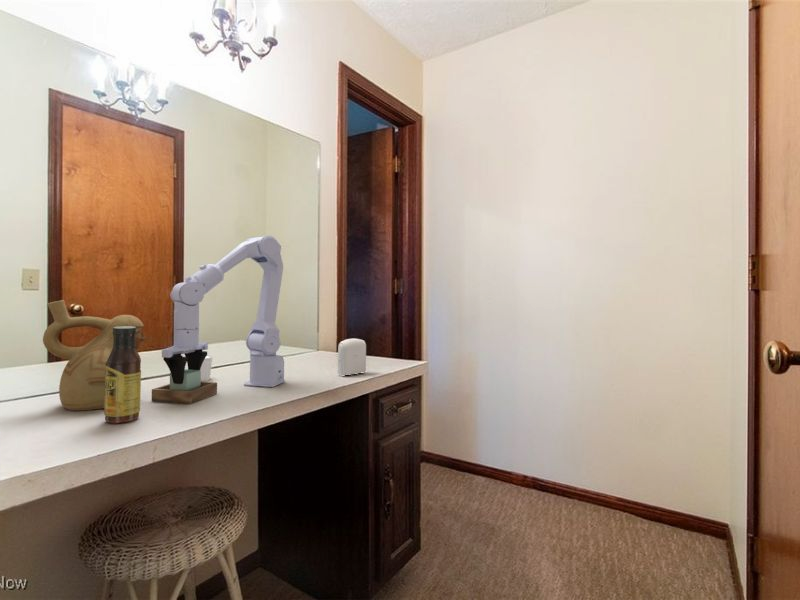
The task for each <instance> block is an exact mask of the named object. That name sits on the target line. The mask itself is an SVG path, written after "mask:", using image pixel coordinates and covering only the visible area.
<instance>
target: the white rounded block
mask: <svg viewBox="0 0 800 600" xmlns="http://www.w3.org/2000/svg"><path fill="white" fill-rule="evenodd" d="M212 362H213V356H210V355H207V356H206V357H205V359H204V361H203V363H202V366H201V369H200V370H201V381H202V382H208V381H209V380H211V374H212V373H211V372H212V365H213V363H212Z"/></svg>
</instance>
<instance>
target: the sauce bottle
mask: <svg viewBox="0 0 800 600" xmlns="http://www.w3.org/2000/svg"><path fill="white" fill-rule="evenodd" d="M135 334H136V327H133V326H118V327H114V328H113V335H114V344H113V349H112V351H111V353H110V356H109V358H108V360H107V363H106V365H105V405H104V408H103V410H104V411H103V412H104V420H105V422H106V423H109V424H113V425H115V424H124V423H129V422H133V421H135V420H138V418H139V417H140V411H141V389H142V388H141V387H142V385H141V384H142V370H141V368H142V367H141V364H142V359H141V358H142V357H141V356H140V353H139V352H138V351H137V350H135V348H134V347H135Z"/></svg>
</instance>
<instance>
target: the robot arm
mask: <svg viewBox="0 0 800 600" xmlns="http://www.w3.org/2000/svg"><path fill="white" fill-rule="evenodd" d="M281 250H282V245H281V244H280V243H279V241H278V240H277V239H276V238H275V237H274V236H272V235H264V236H259V237H250V238H248V239H246V240H245V241H243V242H240V243H239V244H238V245H237V246H236V247H235V248H234V249H232V251H230V252H229V253H227V255H225V256H223V258H221V259H220V260H219V261H217V263H215V264H212V263H208V264H201V265H200V266H199V269H198V271H196V272H195V273H194V274H192V275H190V276H189V275H188V276H186V277H185V278H184V280H185V282H179V283H176V284H175V285H174V286H173V287H172V289H171V292H169V296H170V299H171V300H172V302H173V303H174V307H173V308H174V309H173V345H172V346H169V347H167V348H163V349H161V358H163V361H164V362H165V364H166V365H167V368H168V369H169V373H171V375H172V379H173V383H174V384H182V383H183V379H184V370H185V369H186V364H187V369H188V370H200V369H201V366H202V363H203V361H204V359H205V357H206V356H208V351H207V350H208V349H209V342H204V341H203V342H199V341H200V302H201V303H202V302H203V300H204V298H205V296H206V294H208V292H210V291H211V290H213V289H214V288H215V287H216V286H218V285H219V284H220V283H222V282H223V281H224V276H225V274H226V273H227V272H228V271H230V270H232V269H233V268H234V267H236V266H237V265H239V264H241V263H242V262H243V261H244V260H246V259H249V258H250V259H251V260H253V261H254V262H256V263H257V264H258V265H259V266H260V268H261V269H263V275H262V283H261V287H260V294H259V301H258V306H257V307H258V308H257V314H256V321H254V323H253V324H252V325H251V326H250V330H249V333H248V335H247V336H246V338H245V339H246V340H245V345H246V347H247V349H248V350H249V381H247V382H244V383H243V385H244V386H252V387H264V388H265V387H266V388H267V387H268V388H274V387H276V386H278V385H280V384H282V383H285V382H286V379H285V359H284V356H282V355H280V354H277V352H278V351H279V349H280V347H281V338H280V329H279V327H278V326H277V324H276V319H277V312H278V306H279V299H280V292H281V285H282V278H283V272H284V263H283V259H282V255H281V252H282V251H281ZM183 355H184V356H183Z"/></svg>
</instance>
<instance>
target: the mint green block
mask: <svg viewBox="0 0 800 600" xmlns="http://www.w3.org/2000/svg"><path fill="white" fill-rule="evenodd" d="M169 384H170V390H182V391H191V390H194V389H197V388H200V387H201V370H188V368H187V369H186V368H185V370H184V379H183V383H182V384H174V383H173V379H172V375H171V372H169Z"/></svg>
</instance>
